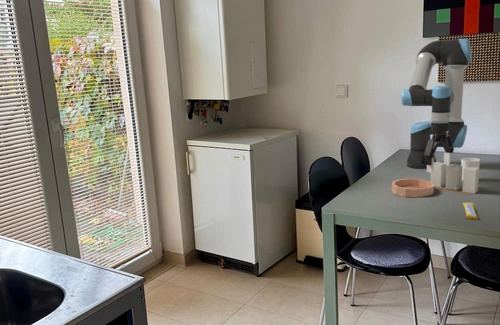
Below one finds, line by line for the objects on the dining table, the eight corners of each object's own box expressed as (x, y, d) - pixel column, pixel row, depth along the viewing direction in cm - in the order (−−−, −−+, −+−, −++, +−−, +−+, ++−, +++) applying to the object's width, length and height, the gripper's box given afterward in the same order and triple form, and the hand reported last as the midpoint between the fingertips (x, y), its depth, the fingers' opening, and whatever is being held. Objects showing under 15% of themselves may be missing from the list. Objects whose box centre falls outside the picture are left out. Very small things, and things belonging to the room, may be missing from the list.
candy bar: (479, 221, 162) (479, 216, 161) (466, 220, 163) (466, 215, 163) (473, 206, 177) (474, 201, 177) (462, 205, 179) (462, 201, 178)
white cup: (480, 182, 206) (482, 161, 204) (462, 182, 208) (463, 161, 206) (476, 178, 214) (477, 157, 212) (458, 178, 215) (459, 157, 213)
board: (440, 182, 209) (440, 181, 209) (482, 190, 195) (482, 189, 194) (425, 188, 202) (425, 187, 202) (468, 196, 188) (468, 195, 187)
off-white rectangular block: (451, 186, 201) (452, 164, 199) (461, 188, 198) (462, 165, 196) (445, 188, 199) (446, 165, 197) (456, 190, 195) (457, 167, 193)
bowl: (406, 184, 209) (407, 176, 208) (441, 191, 196) (442, 183, 195) (384, 192, 199) (384, 184, 198) (419, 200, 186) (419, 191, 185)
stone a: (435, 183, 207) (436, 161, 205) (445, 185, 203) (446, 163, 201) (430, 185, 205) (431, 163, 202) (440, 187, 201) (441, 165, 199)
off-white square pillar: (465, 189, 196) (466, 166, 194) (477, 190, 193) (479, 167, 190) (462, 191, 193) (463, 168, 191) (474, 193, 190) (475, 170, 187)
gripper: (432, 125, 187) (430, 175, 192) (463, 119, 202) (461, 166, 207) (416, 124, 193) (414, 173, 198) (447, 118, 208) (445, 163, 212)
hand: (438, 169), depth 202 cm, fingers open, 13 cm apart
